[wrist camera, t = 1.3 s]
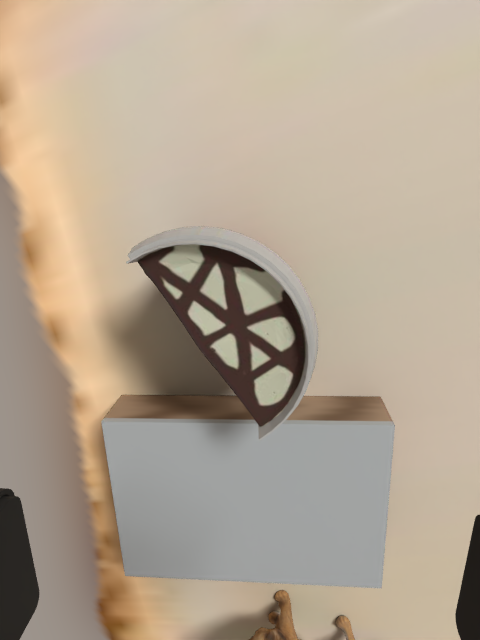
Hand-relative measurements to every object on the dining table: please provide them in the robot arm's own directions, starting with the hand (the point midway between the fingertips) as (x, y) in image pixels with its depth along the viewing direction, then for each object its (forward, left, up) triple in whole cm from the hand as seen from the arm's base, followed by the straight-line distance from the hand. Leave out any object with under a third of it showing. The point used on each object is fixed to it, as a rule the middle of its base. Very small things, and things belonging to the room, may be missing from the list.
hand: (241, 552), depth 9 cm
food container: (+1, -1, -22) cm, 22 cm away
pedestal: (+2, +15, -22) cm, 27 cm away
